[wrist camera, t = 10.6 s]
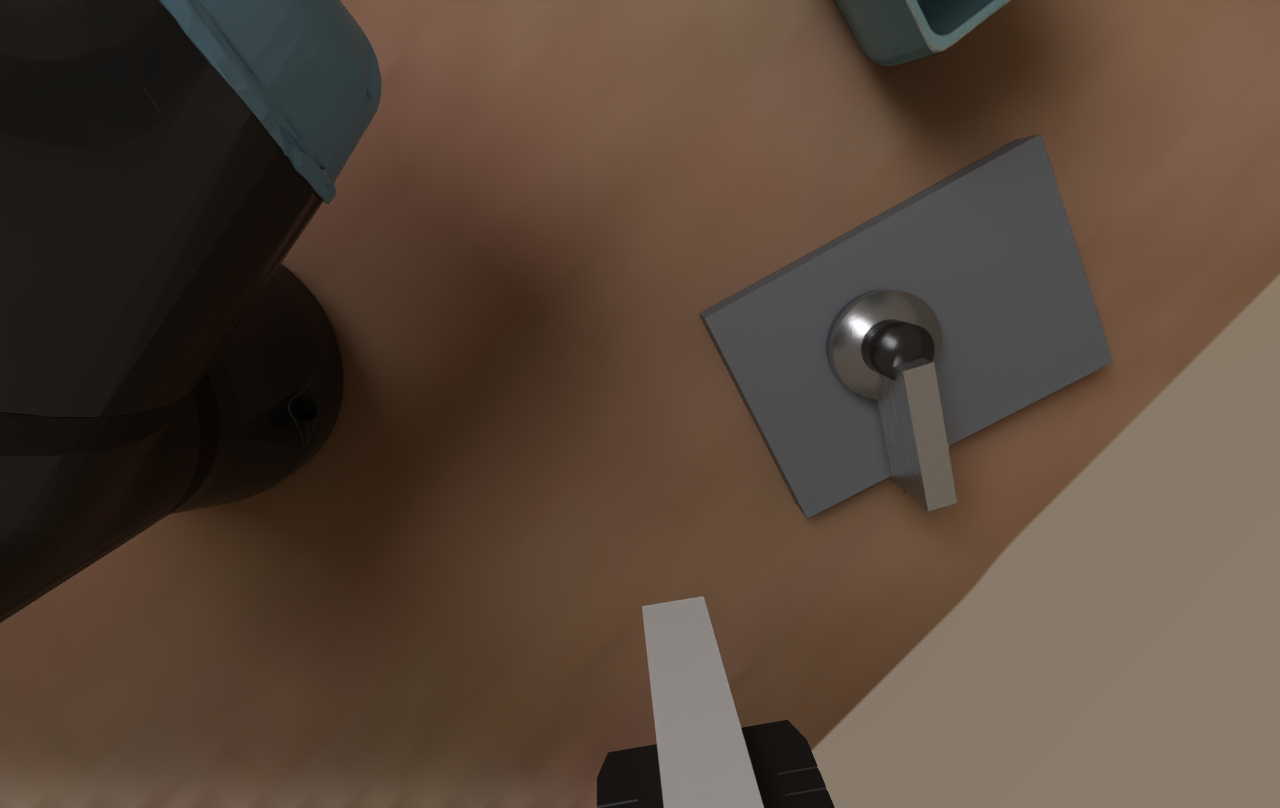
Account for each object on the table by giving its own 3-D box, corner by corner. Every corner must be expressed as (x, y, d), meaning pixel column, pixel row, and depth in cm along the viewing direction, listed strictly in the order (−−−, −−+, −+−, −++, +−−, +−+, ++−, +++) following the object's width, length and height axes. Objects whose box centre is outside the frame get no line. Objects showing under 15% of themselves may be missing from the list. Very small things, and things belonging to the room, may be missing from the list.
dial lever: (815, 307, 33) (846, 317, 29) (921, 275, 33) (967, 280, 29) (855, 491, 36) (888, 523, 32) (951, 462, 36) (997, 490, 32)
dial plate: (698, 313, 35) (705, 318, 33) (1015, 139, 33) (1043, 133, 31) (796, 504, 39) (808, 520, 36) (1086, 355, 37) (1115, 362, 35)
